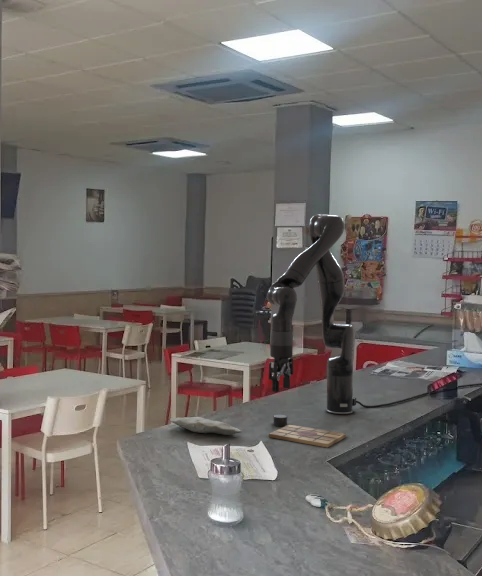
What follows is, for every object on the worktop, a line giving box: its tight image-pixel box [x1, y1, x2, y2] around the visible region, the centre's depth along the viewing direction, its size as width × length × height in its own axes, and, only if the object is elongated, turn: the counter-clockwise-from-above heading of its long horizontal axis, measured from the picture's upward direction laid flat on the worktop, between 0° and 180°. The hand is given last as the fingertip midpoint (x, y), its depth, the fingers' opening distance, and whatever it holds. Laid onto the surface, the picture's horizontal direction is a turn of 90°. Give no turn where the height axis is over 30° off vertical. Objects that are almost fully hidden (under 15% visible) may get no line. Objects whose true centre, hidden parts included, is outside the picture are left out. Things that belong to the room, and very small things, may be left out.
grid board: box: [268, 424, 347, 448], centre depth 235 cm, size 15×20×1 cm
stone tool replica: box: [169, 416, 243, 436], centre depth 241 cm, size 15×5×25 cm
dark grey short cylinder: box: [273, 414, 288, 428], centre depth 251 cm, size 5×5×3 cm
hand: (281, 389), depth 249 cm, fingers open, 8 cm apart
